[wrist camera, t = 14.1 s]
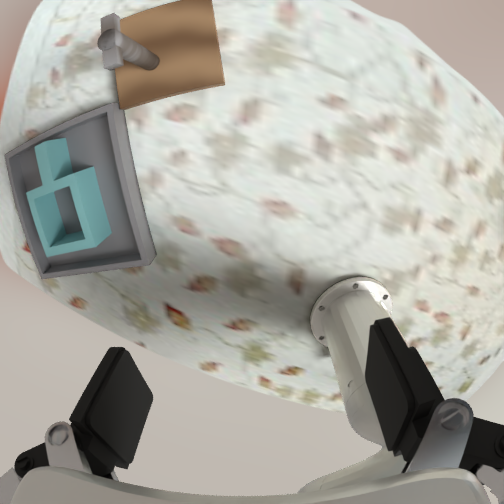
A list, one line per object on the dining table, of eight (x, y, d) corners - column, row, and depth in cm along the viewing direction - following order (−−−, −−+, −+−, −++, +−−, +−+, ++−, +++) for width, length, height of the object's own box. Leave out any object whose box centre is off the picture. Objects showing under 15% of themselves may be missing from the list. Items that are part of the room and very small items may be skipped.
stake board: (225, 85, 27) (209, 60, 16) (125, 109, 28) (67, 107, 17) (211, -2, 22) (192, -53, 11) (116, 26, 23) (64, -3, 12)
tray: (156, 254, 36) (149, 264, 33) (51, 270, 37) (41, 279, 34) (123, 104, 28) (111, 102, 25) (17, 151, 29) (4, 154, 26)
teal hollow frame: (86, 128, 28) (66, 130, 24) (111, 233, 34) (96, 246, 30) (38, 150, 29) (17, 156, 25) (63, 243, 34) (46, 257, 30)
